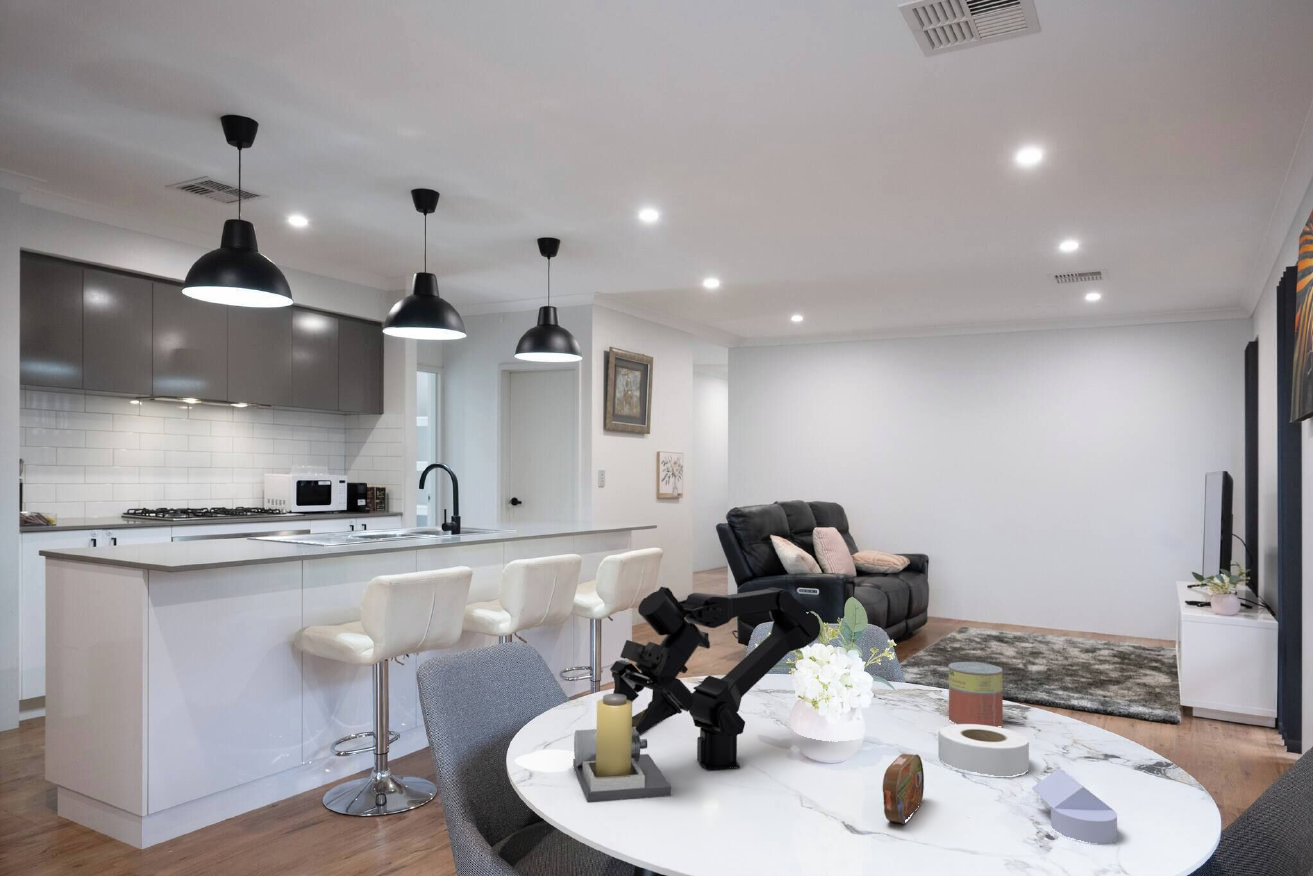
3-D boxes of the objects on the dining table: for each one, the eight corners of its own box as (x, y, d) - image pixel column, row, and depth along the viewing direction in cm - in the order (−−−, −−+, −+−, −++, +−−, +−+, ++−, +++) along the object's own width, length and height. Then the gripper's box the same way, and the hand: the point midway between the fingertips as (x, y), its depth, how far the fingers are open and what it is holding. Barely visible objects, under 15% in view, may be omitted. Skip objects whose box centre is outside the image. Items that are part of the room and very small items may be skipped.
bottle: (633, 775, 147) (635, 693, 147) (627, 788, 141) (629, 702, 141) (599, 772, 148) (601, 691, 148) (591, 785, 142) (593, 700, 142)
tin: (899, 832, 128) (899, 775, 129) (879, 827, 130) (879, 771, 130) (925, 800, 141) (925, 749, 141) (906, 796, 143) (906, 745, 143)
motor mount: (648, 762, 158) (648, 721, 158) (671, 795, 142) (671, 750, 142) (573, 767, 155) (573, 725, 155) (587, 802, 138) (588, 755, 139)
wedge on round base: (1031, 809, 138) (1066, 843, 125) (1030, 767, 138) (1065, 797, 125) (1087, 810, 138) (1129, 845, 125) (1087, 768, 138) (1128, 798, 125)
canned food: (957, 712, 195) (956, 659, 196) (1008, 721, 188) (1008, 666, 189) (941, 723, 186) (941, 668, 186) (995, 733, 179) (995, 675, 180)
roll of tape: (934, 748, 169) (934, 719, 170) (1019, 754, 166) (1019, 725, 166) (944, 775, 154) (944, 743, 154) (1037, 782, 151) (1037, 750, 151)
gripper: (619, 615, 157) (566, 684, 150) (680, 631, 142) (624, 708, 135) (653, 653, 161) (603, 722, 154) (716, 672, 146) (664, 749, 139)
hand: (622, 724), depth 146 cm, fingers open, 9 cm apart
